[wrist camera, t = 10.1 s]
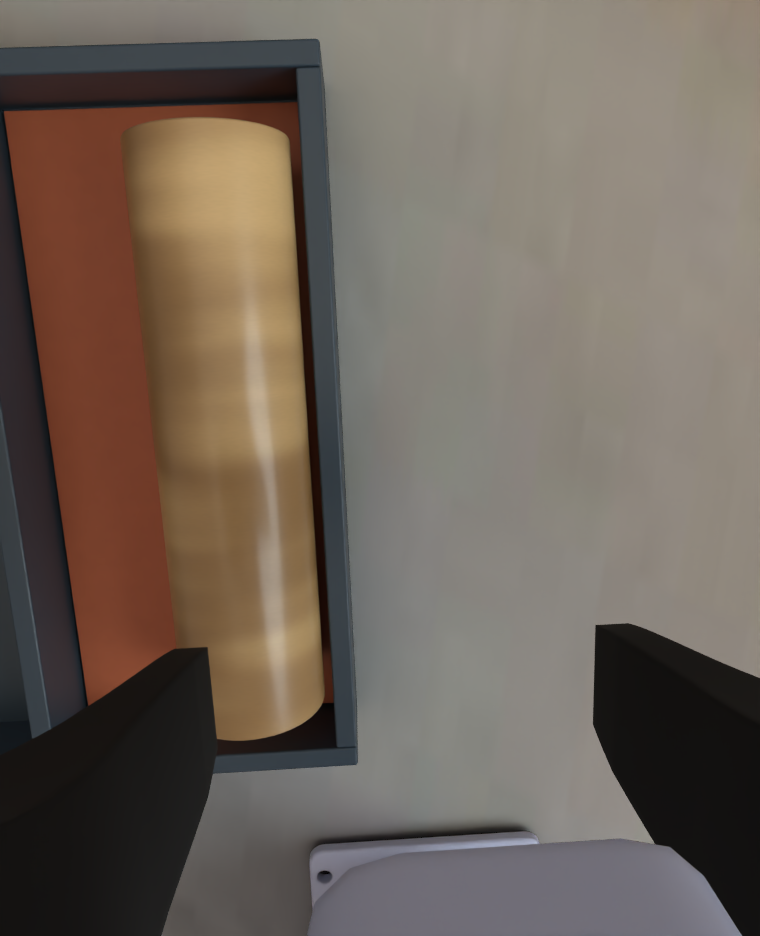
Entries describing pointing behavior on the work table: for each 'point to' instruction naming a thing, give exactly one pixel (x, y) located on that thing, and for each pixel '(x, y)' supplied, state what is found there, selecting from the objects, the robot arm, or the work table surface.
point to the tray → (135, 379)
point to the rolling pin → (229, 409)
